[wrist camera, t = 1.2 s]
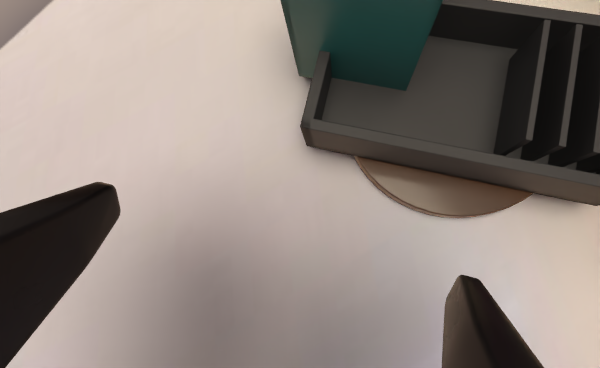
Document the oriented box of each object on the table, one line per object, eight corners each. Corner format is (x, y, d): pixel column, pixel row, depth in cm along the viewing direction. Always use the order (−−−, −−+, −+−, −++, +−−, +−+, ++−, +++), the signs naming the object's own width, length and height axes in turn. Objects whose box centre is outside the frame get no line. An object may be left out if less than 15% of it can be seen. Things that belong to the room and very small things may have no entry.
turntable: (561, 231, 21) (571, 230, 20) (332, 203, 23) (331, 201, 22) (565, 22, 23) (575, 12, 22) (355, 11, 25) (356, 1, 24)
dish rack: (596, 206, 20) (949, 146, 8) (282, 140, 22) (219, 26, 11) (614, 60, 21) (943, -167, 10) (314, 14, 24) (289, -209, 12)
